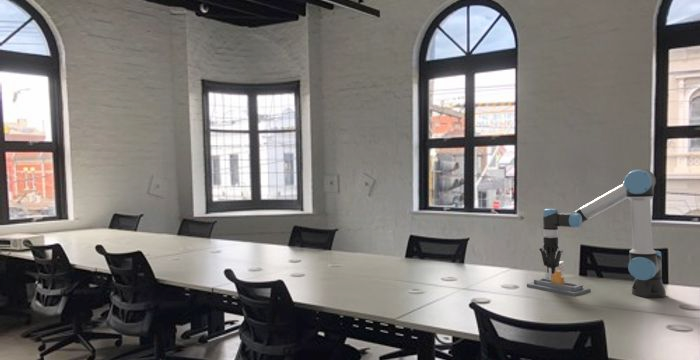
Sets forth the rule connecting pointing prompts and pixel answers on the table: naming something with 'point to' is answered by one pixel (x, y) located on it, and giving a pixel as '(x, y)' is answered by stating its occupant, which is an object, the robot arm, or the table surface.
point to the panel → (559, 287)
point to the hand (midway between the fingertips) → (551, 279)
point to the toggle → (558, 278)
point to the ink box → (559, 268)
